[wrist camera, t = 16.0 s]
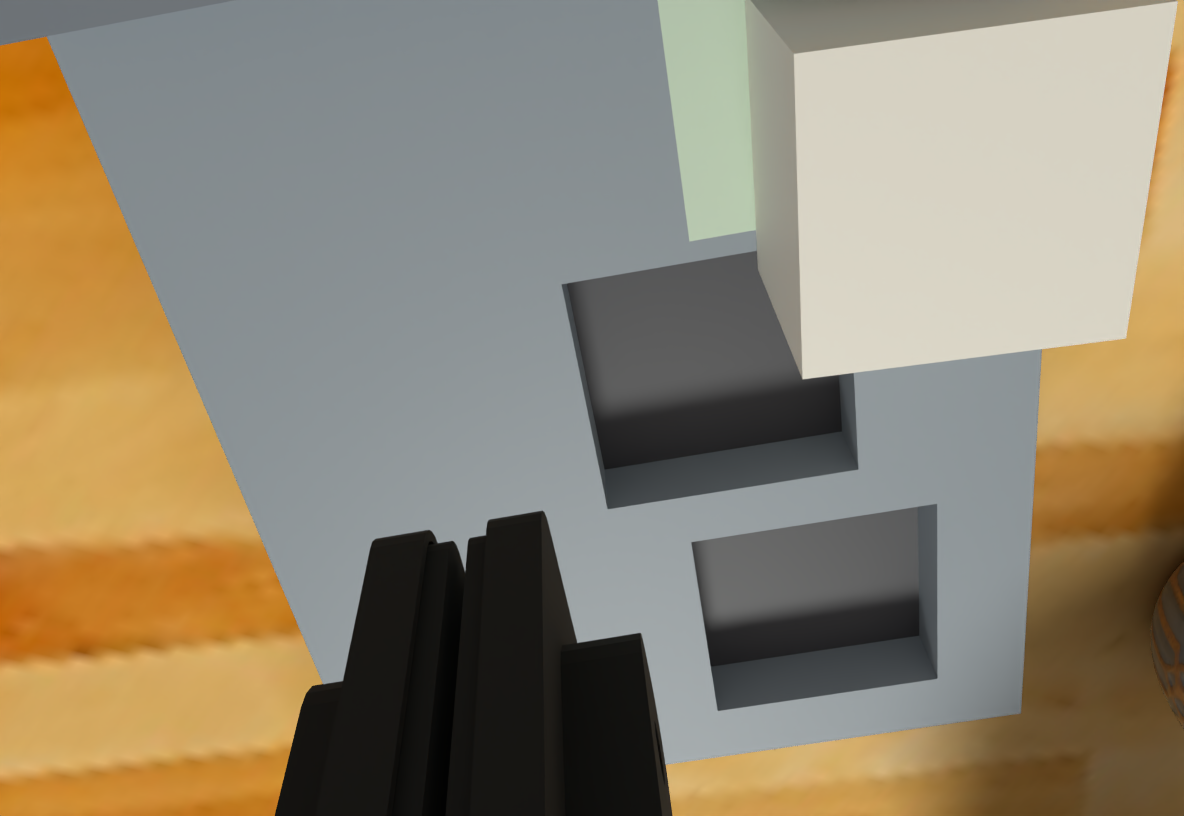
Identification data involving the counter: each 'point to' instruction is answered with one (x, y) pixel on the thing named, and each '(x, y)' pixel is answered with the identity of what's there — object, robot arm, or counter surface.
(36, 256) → the counter surface
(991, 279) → the cream block
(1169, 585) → the vase
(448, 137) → the board
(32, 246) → the counter surface
